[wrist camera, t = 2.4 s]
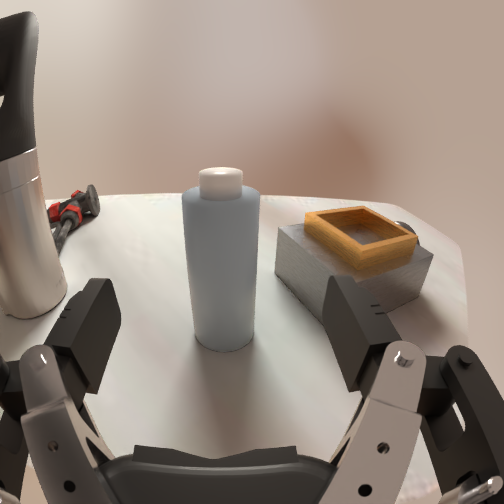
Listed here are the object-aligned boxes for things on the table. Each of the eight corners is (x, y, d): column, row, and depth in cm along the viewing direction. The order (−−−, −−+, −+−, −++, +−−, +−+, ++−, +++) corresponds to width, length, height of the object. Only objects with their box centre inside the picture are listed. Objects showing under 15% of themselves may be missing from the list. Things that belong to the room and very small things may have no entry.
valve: (49, 220, 54) (105, 201, 57) (12, 290, 33) (86, 267, 36) (40, 196, 50) (97, 175, 53) (-6, 257, 29) (70, 229, 33)
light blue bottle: (205, 358, 23) (190, 187, 16) (188, 318, 28) (174, 168, 20) (263, 341, 25) (275, 178, 18) (240, 305, 30) (242, 161, 22)
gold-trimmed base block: (333, 336, 26) (352, 264, 22) (274, 272, 35) (279, 210, 31) (424, 293, 32) (444, 237, 28) (364, 250, 41) (375, 199, 37)
